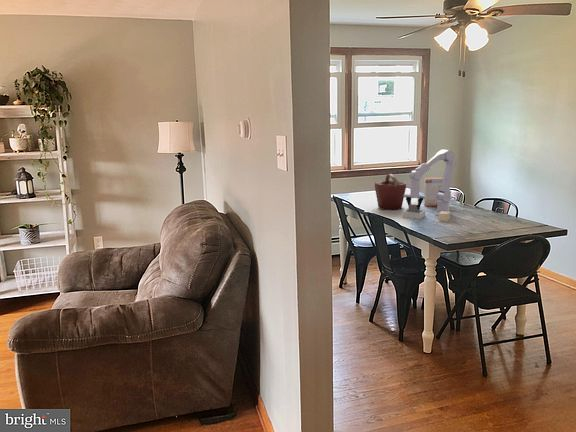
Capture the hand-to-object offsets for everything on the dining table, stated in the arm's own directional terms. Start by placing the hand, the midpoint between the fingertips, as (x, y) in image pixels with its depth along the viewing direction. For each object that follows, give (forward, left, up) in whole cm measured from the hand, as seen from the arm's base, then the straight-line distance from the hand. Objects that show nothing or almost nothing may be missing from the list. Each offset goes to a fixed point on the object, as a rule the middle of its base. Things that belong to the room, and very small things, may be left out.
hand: (414, 208), depth 319 cm
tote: (0, 0, -6) cm, 6 cm away
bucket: (-23, -24, -6) cm, 34 cm away
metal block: (0, 0, -1) cm, 1 cm away
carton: (0, +20, -6) cm, 21 cm away
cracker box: (-44, +3, -6) cm, 44 cm away
